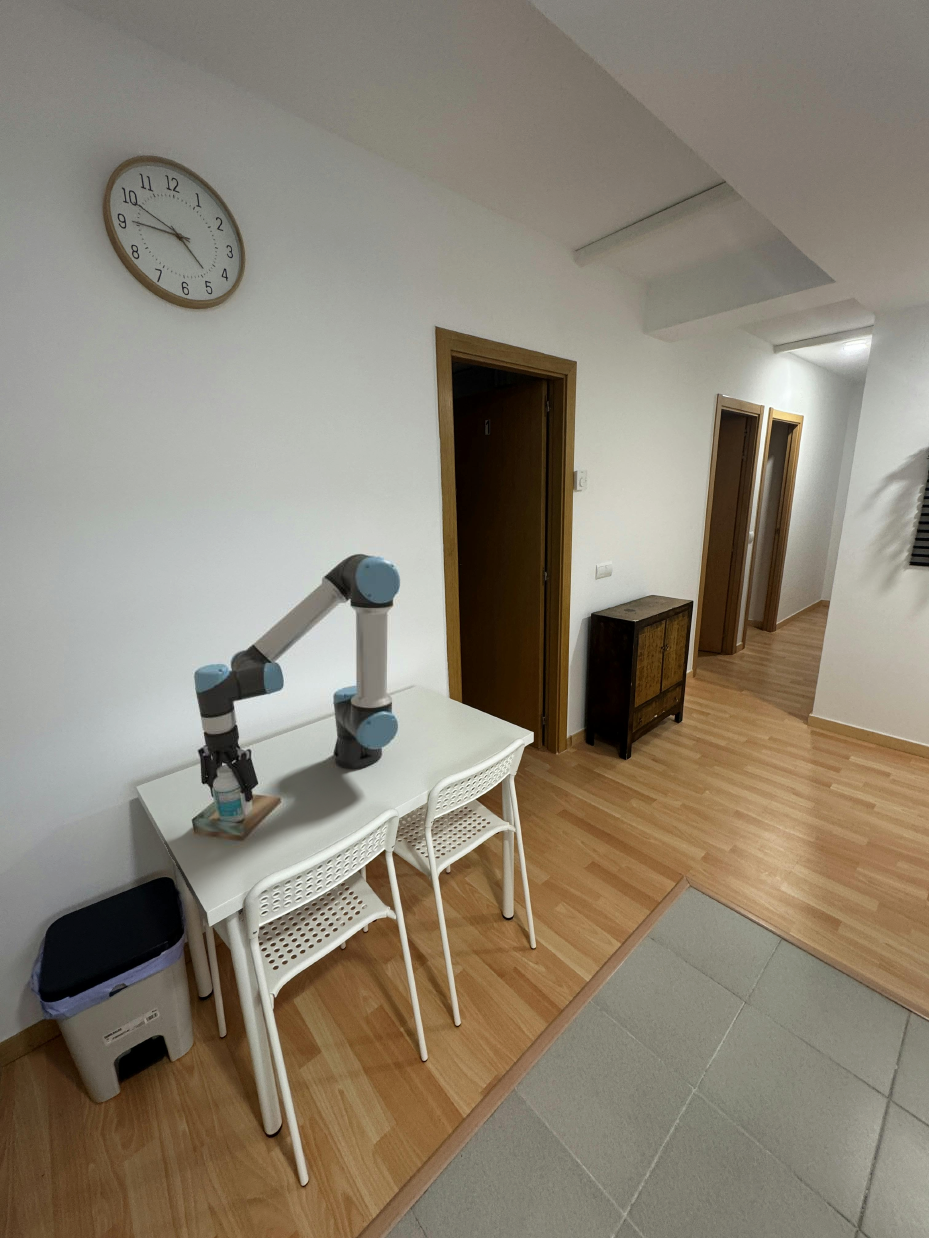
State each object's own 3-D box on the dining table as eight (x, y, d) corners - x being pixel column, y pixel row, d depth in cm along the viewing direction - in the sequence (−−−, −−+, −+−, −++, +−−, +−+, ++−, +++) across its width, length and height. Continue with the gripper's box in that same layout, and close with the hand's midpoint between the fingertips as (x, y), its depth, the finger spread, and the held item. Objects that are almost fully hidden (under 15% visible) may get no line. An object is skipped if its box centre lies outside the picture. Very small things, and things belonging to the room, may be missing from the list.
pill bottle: (225, 807, 131) (217, 761, 127) (254, 805, 131) (247, 759, 128) (214, 826, 123) (205, 777, 120) (245, 823, 124) (237, 774, 121)
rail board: (281, 802, 136) (279, 789, 135) (242, 840, 121) (239, 826, 120) (237, 796, 140) (235, 783, 139) (194, 833, 125) (191, 819, 124)
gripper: (266, 723, 122) (278, 805, 128) (197, 717, 127) (211, 796, 133) (246, 738, 115) (259, 824, 121) (173, 731, 120) (190, 814, 126)
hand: (234, 809), depth 127 cm, fingers closed on pill bottle, 7 cm apart
